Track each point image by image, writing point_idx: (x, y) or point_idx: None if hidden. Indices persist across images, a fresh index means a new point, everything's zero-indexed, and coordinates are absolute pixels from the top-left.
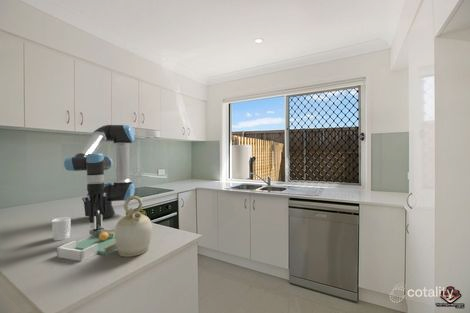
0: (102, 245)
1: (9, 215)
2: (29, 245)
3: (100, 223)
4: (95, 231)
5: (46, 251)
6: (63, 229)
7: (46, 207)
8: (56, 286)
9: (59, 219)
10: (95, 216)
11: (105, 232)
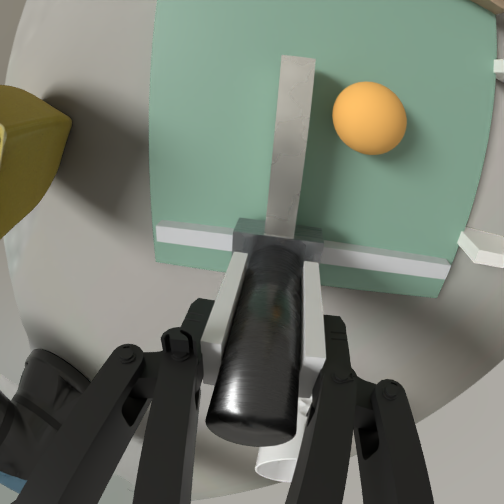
0: (439, 67)
1: None
2: None
3: (242, 278)
4: (322, 243)
5: (447, 337)
6: None
7: (125, 478)
8: None
9: (279, 473)
10: (312, 353)
11: (370, 105)
